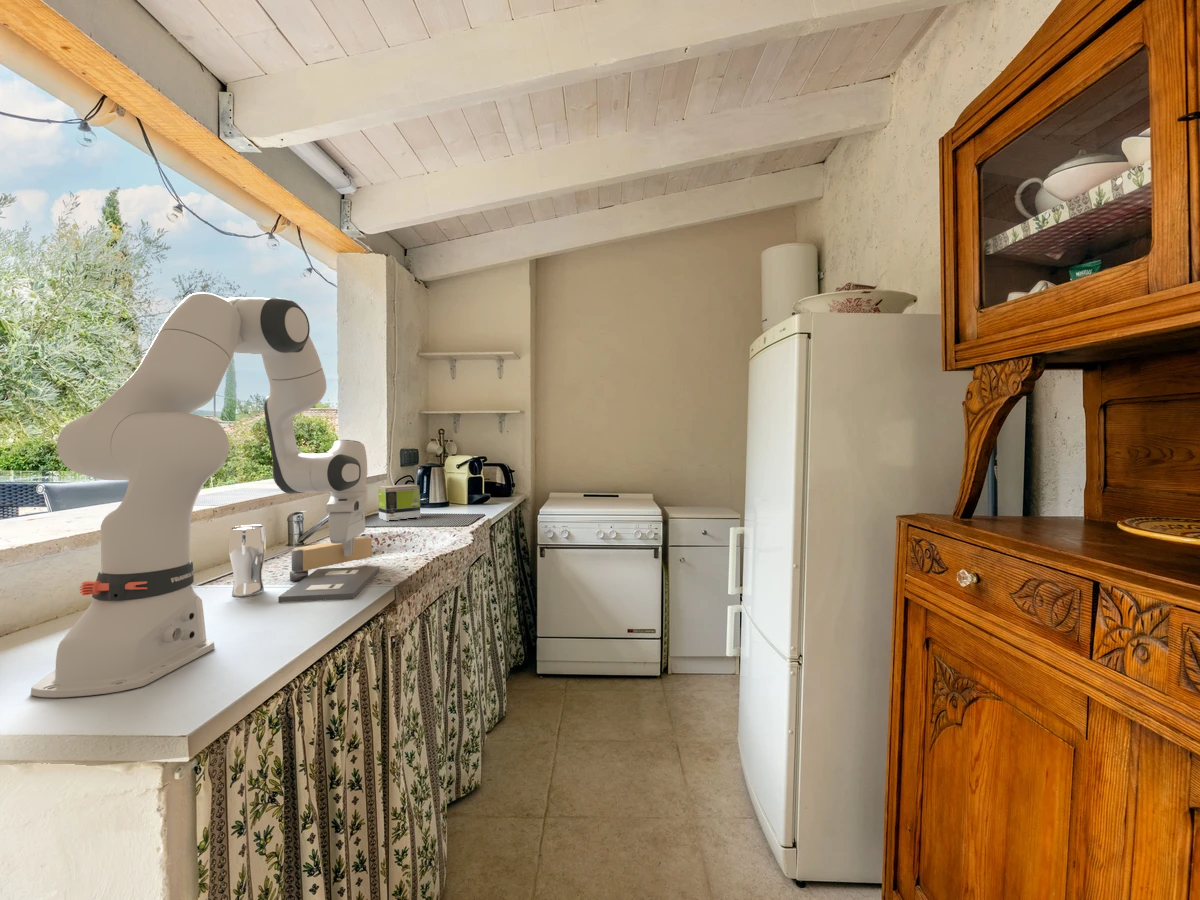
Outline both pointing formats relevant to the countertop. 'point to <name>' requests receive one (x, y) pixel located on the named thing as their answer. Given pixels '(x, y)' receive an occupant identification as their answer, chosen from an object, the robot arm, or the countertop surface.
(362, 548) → the swing arm
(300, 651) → the countertop surface
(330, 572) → the label panel
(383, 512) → the tea box
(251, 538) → the beer glass
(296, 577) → the pivot post
